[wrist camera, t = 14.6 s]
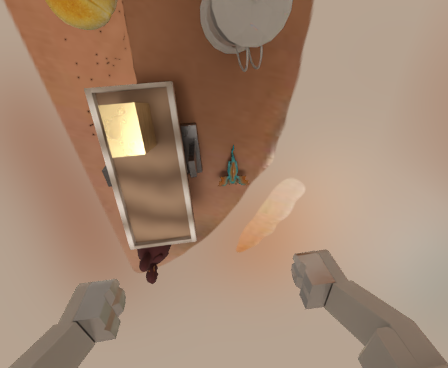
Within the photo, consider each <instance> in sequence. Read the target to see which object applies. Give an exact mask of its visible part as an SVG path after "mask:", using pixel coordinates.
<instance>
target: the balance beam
mask: <svg viewBox="0 0 448 368" xmlns="http://www.w3.org/2000/svg"><path fill="white" fill-rule="evenodd" d="M84 91H85V94H86V98H87V101H88V104H89V108H90V111H91V115H92V118H93V122H94V125H95V129H96V132H97V136H98V139H99V143H100V146H101V150H102V153H103V156H104V160H105V163H106V167H107V170H108V174H109V177H110V181H111V184H112V188H113V191H114V195H115V198H116V201H117V205H118V208H119V212H120V215H121V219H122V222H123V226H124V229H125V233H126V236H127V240H128V243H129V247H130V250H133V249H140V248H148V247H156V246H163V245H171V244H179V243H186V242H194V241H196V240H197V233H196V227H195V220H194V214H193V207H192V201H191V194H190V188H189V181H188V175H187V164H186V162H185V155H184V149H183V142H182V136H181V129H180V123H179V116H178V110H177V103H176V96H175V90H174V83H173V82H172V81H167V82H155V83H143V84H132V85H120V86H108V87H96V88H84ZM132 102H137V103H149V107H150V112H151V117H152V122H153V127H154V132H155V137H156V142H157V145H156V146H155V147H154V148H153V149H151V150H150V151H149V152H148V153H147V154H145V155H135V156H125V157H115V158H112V155H111V151H110V147H109V144H108V140H107V136H106V133H105V129H104V125H103V122H102V118H101V114H100V111H99V107H98V105H110V104H121V103H132Z"/></svg>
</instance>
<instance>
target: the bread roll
mask: <svg viewBox="0 0 448 368" xmlns="http://www.w3.org/2000/svg"><path fill="white" fill-rule="evenodd" d="M45 1H46V2H47V4H48V5H49V7H50V8H51V10H52V11H53V12H54V13H55V14H56V15H57V16H58V17H59V18H60V19H61V20H62V21H64V22H65V23H67V24H69V25H71V26H73V27H76V28H79V29H84V30H95V29H98V28H100V27H102V26H104V25H106V24H107V23H108V22H109V20H110V18H111V15H112V14H113V12H114V11H115V9H116V5H117V0H45Z"/></svg>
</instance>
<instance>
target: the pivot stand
mask: <svg viewBox="0 0 448 368" xmlns="http://www.w3.org/2000/svg"><path fill="white" fill-rule="evenodd" d="M180 129H181V136H182V142H183V149H184V155H185V162H186V164H187V174H190V175H191V177H197V173H200V172H202V165H201V158H200V151H199V143H198V136H197V129H196V123H191V124H180ZM102 172H103V174H104V177H105V179H106V181H107V184H108V186H112V184H111V181H110V177H109V174H108V170H107V167H106V166H105V167H104V169H103V170H102Z"/></svg>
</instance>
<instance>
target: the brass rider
mask: <svg viewBox="0 0 448 368" xmlns="http://www.w3.org/2000/svg"><path fill="white" fill-rule="evenodd" d="M98 107H99V111H100V114H101V118H102V122H103V125H104V129H105V133H106V136H107V140H108V144H109V147H110V151H111V155H112V158H115V157H125V156H135V155H145V154H147V153H148V152H149V151H150V150H151V149H153V148H154V147H155V146H156V145H157V142H156V137H155V132H154V127H153V122H152V117H151V112H150V107H149V103H137V102H132V103H121V104H110V105H98Z"/></svg>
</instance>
